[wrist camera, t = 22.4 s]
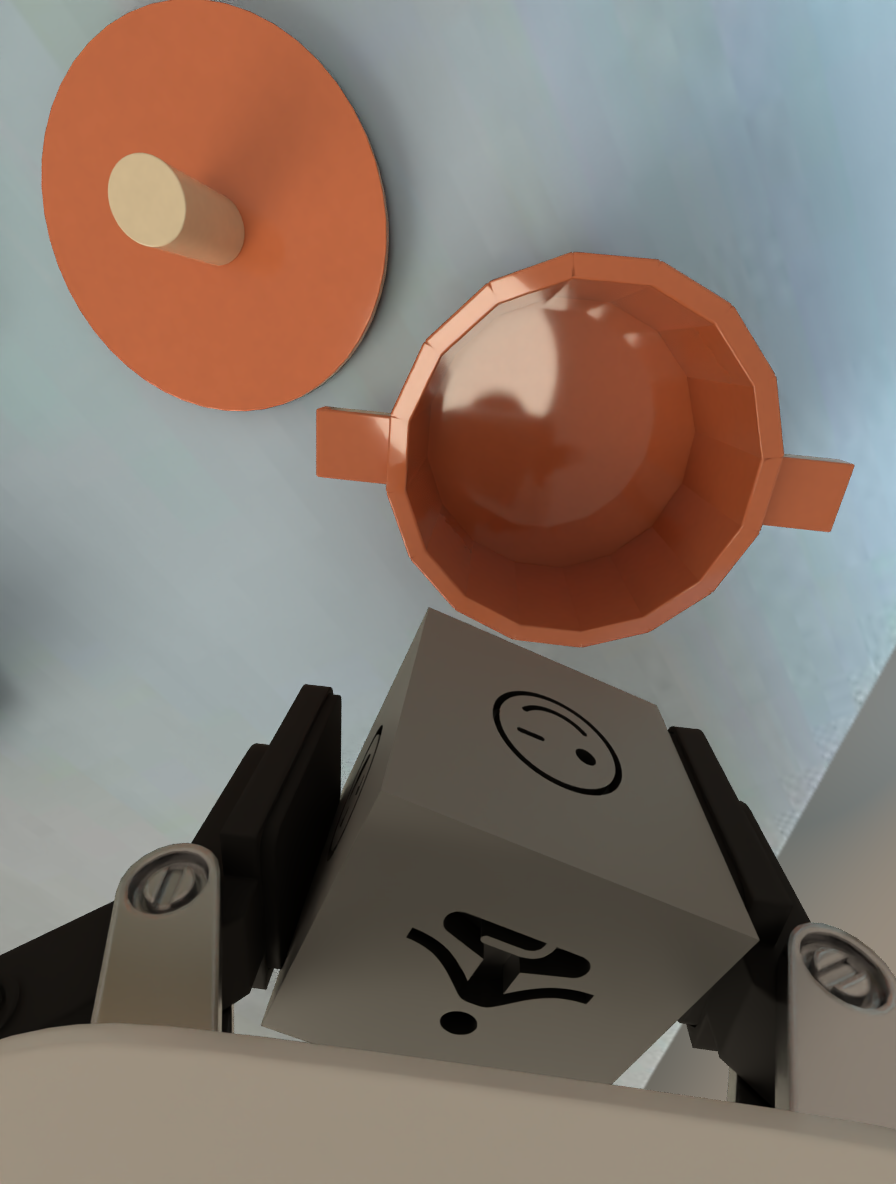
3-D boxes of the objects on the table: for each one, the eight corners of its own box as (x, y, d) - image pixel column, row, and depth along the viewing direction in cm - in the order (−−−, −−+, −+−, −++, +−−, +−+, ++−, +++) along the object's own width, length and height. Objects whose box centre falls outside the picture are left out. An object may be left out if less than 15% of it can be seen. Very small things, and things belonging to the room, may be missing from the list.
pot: (721, 595, 29) (791, 673, 22) (354, 553, 29) (310, 616, 22) (808, 303, 24) (937, 284, 17) (362, 261, 24) (308, 226, 17)
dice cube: (656, 705, 12) (759, 940, 7) (541, 865, 14) (563, 1131, 9) (428, 607, 11) (380, 790, 7) (343, 787, 13) (261, 1025, 9)
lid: (383, 423, 27) (354, 443, 21) (89, 393, 27) (-14, 404, 22) (401, 30, 21) (367, -81, 16) (32, 1, 22) (-125, -116, 16)
